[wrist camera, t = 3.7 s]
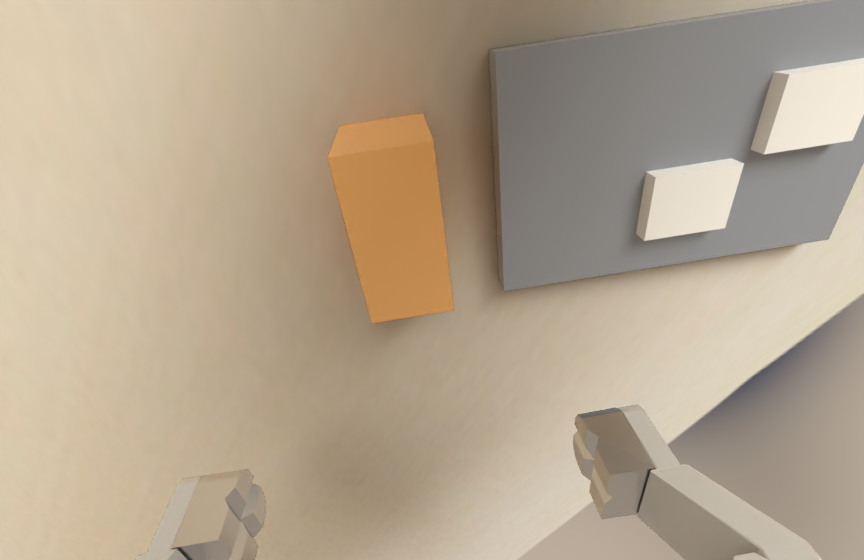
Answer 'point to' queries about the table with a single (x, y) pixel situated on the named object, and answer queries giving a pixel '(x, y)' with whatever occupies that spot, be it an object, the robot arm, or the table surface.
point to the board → (659, 139)
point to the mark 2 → (811, 107)
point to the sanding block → (393, 215)
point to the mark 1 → (688, 199)
